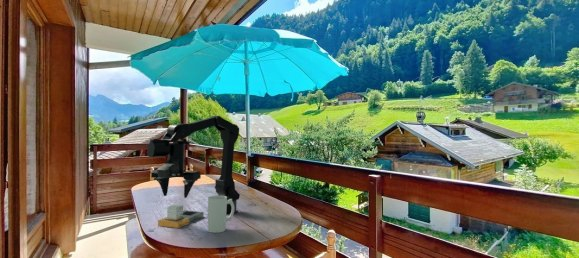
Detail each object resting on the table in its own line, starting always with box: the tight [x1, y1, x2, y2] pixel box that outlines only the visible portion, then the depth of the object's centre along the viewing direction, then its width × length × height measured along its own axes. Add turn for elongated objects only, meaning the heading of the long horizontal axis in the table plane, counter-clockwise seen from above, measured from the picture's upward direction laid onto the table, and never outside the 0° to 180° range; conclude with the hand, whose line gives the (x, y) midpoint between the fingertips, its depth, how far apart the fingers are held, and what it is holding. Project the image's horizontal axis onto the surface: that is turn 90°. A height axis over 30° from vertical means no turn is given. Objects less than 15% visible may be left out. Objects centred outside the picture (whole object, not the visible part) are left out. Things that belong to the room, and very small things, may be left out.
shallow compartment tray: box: [157, 209, 205, 229], centre depth 125 cm, size 9×17×2 cm, turn 164°
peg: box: [166, 204, 184, 221], centre depth 120 cm, size 4×4×7 cm
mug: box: [207, 195, 235, 234], centre depth 115 cm, size 10×7×12 cm, turn 123°
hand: (175, 196), depth 120 cm, fingers open, 9 cm apart
